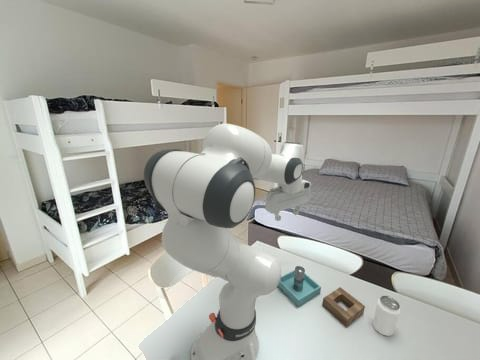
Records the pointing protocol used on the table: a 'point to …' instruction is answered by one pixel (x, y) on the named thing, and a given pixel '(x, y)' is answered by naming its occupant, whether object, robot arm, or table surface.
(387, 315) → the can
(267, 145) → the robot arm
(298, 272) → the pin
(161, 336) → the table surface
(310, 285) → the tray
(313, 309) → the table surface
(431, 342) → the table surface
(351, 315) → the pin block
